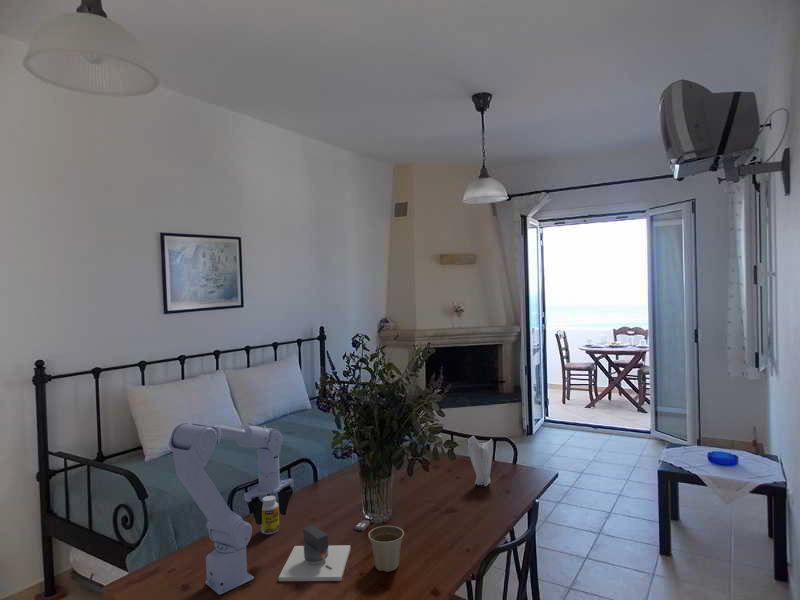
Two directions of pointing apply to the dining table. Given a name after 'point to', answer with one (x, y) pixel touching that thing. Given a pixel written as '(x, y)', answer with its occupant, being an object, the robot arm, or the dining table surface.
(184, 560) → the dining table surface
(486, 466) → the white vase
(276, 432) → the robot arm
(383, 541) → the flower pot
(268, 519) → the supplement bottle
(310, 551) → the dark grey blocky piece
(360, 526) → the key chain
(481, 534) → the dining table surface
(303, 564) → the post base
